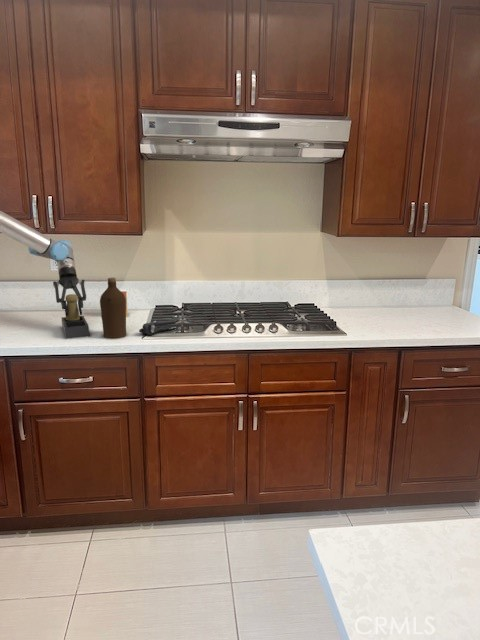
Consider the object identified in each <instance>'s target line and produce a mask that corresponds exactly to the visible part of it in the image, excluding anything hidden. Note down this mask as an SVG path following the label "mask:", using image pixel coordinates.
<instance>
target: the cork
mask: <svg viewBox="0 0 480 640" xmlns="http://www.w3.org/2000/svg"><path fill="white" fill-rule="evenodd" d="M65 300H66V305H67V312H68V316H66V315H65V317H66V318H65V319H66V320H69V321H74V320H79V319H80V317H79V316H80V312H79V306H78V296H77V295H76V294H74V293H72V294H71V293H70V294H66V295H65Z"/></svg>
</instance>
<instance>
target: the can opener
mask: <svg viewBox="0 0 480 640" xmlns="http://www.w3.org/2000/svg"><path fill="white" fill-rule="evenodd" d="M175 324H177V321H175V320H159V321H156V320H154V321H151V322H146V323H144V324H143V325H142V328H139V330H138V332H139V333H141V334H145V335H148V336H152V335H155V334H156V333H158V332H161V331H172V330H175V329H177V327H176V328H173V329H169V328H171V327H173V326H174V325H175ZM166 329H168V330H166ZM160 330H161V331H160ZM153 333H154V334H153Z"/></svg>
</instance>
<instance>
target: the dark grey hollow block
mask: <svg viewBox="0 0 480 640" xmlns="http://www.w3.org/2000/svg"><path fill="white" fill-rule="evenodd" d="M79 317H80V319H79V320H74V321H69V320H66V319H65V318H66V316H64V317H61V328H62V332H63V334H64V338H65V339H66V340H68V339H75V338H85V337H90V328H89V324H88V322H87V320H86V318H85V316H84V315H79Z"/></svg>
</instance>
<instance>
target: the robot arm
mask: <svg viewBox="0 0 480 640" xmlns="http://www.w3.org/2000/svg"><path fill="white" fill-rule="evenodd" d="M0 233H1V234H3V235H4V236H7V237H8V238H10V239H12V240H14V241H16V242H18V243H20V244H22V245H24V246H26V247H27V248H28V252H29V254H31V255H33V256H37V257H42V258H46V259H49V260H52V261H53V260H54V261H56V265H57V271H58V278H59V279H58V281H55V280H54V281H53V282H52V286H53V288H54V292H55V300H56V303H57V304H58V303H60V305H61V309H62V310H64V315H65V317H66V316H68V312H67V301H66V295H67V294H66V293H67V290H69V289H71V290H72V291H73V292H74V293H75V295H77V296H78V301H77V306H78V311H79V316H83V310H82V309H83V308H84V301H85V302H86V301H87V292H86V288H85V283H86V281H85V279H79V278H78V275H77V269H76V264H75V257H74V250H73V246H72V243H71V242H69V240H64V239H63V240H57V241H56V240H54V239H52V238H51V237H49V236H47V235H45V234H43V233H42V232H39V231H38V230H37V229H35V228H32V227H31V226H29V225H27V224H25V223H23V222H21V221H20V220H18V219H16V218H14V217H12V216H11V215H10V214H7V213H5V212H4V211H2V210H0ZM78 284H79V286H80V289H81V290H79V288H78V286H77V285H78ZM60 286H61V287H62V291H61V297H60V291H59V287H60ZM80 291H81V292H80ZM81 294H82V295H81Z"/></svg>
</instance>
